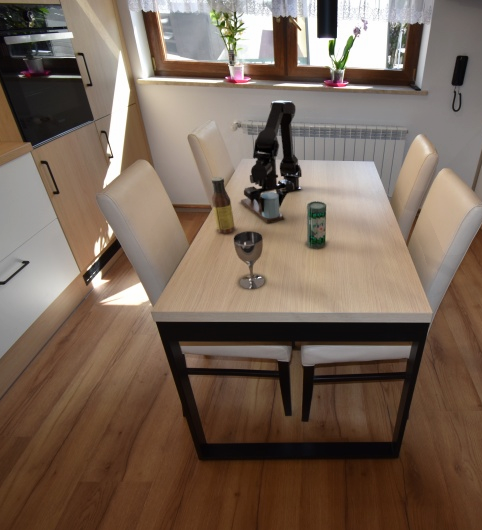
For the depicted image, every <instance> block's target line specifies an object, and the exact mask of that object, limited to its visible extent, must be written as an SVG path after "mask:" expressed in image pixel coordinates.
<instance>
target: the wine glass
mask: <svg viewBox="0 0 482 530" xmlns="http://www.w3.org/2000/svg"><path fill="white" fill-rule="evenodd" d="M263 239H264V238H263V234H261V233H259V232H257V231H251V230H248V231H246V230H245V231H241V232H239V233H237V234H236V235H234V236H233V245H234V251H235V253H236V256H237V257H238V258H239V260H240V261H242V262H243V263H245V264H246V266H248V270H249V275H246V276H243V278H241V280H240V281H239V284H240V286H241V287H242V288H244V289H249V290H251V289H252V290H253V289H258V288H261V287H262V286H263V285H264V284H265V278H263V276H261V275H259V274H254V265H255V264H256V262H257V261H258V260H259V259H260V258H261V257H262V253H263V250H264V248H263V247H264V241H263Z"/></svg>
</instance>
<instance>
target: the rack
mask: <svg viewBox="0 0 482 530" xmlns="http://www.w3.org/2000/svg"><path fill="white" fill-rule="evenodd" d="M240 203H241V204H242V205H243V206H244V207H246V208H247V209H248V210H250V211H251V212H252V213H253V214H255V215H256V216H257V217H258V218H260V219H261V220H262V221H264V222H265V224H271V223H275V222H278V221H282V220H284V215H283V214H282V213H280V215H279V216H278V217H276V218H265V217H263V216H262V212H261V210H260V207H259V205H258V203H257V201H256V200H255V199H254V200H250V199H249V198H247V197H246V198H243V199H240Z"/></svg>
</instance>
